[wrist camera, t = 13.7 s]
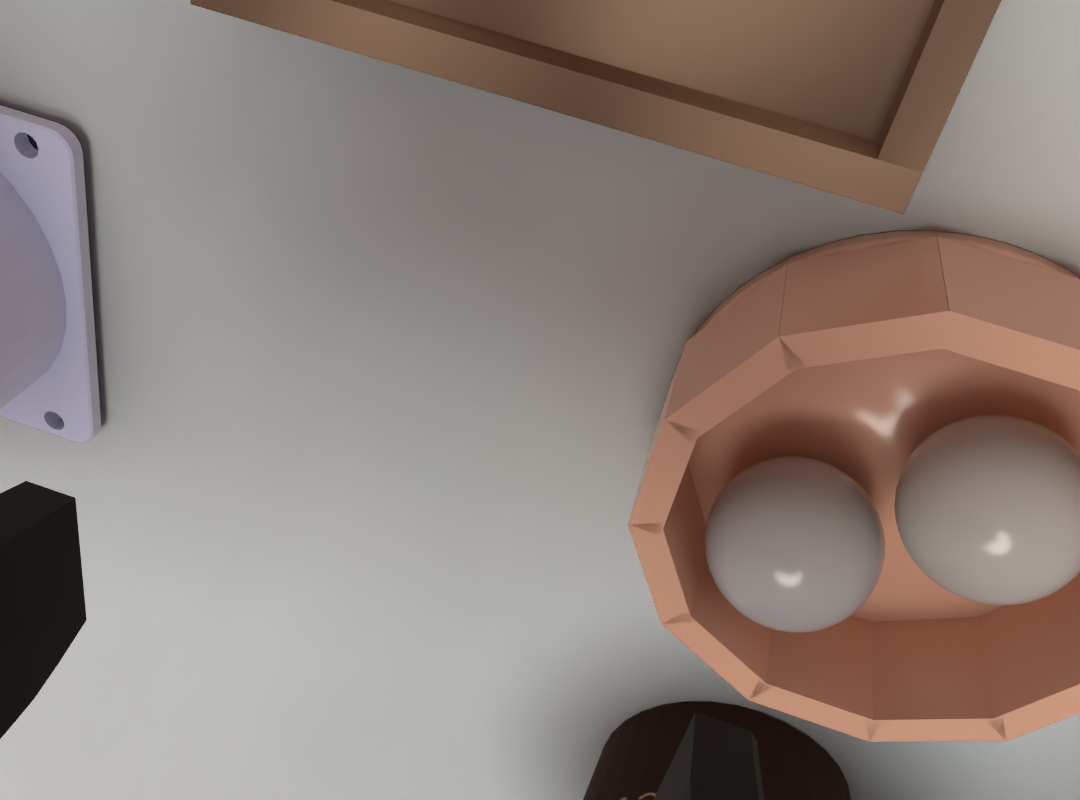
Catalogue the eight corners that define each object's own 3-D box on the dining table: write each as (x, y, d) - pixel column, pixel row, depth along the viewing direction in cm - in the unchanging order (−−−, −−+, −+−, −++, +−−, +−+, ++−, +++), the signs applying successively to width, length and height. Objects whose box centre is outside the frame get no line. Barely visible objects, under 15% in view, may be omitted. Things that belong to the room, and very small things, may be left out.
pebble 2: (856, 478, 19) (876, 621, 17) (929, 359, 17) (962, 507, 15) (1019, 509, 20) (1059, 657, 17) (1111, 395, 17) (1172, 548, 15)
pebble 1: (785, 454, 21) (667, 552, 20) (807, 396, 18) (670, 510, 18) (900, 572, 20) (779, 679, 19) (945, 531, 17) (804, 657, 16)
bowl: (616, 540, 23) (586, 644, 20) (744, 166, 17) (725, 243, 15) (1017, 673, 22) (1040, 800, 19) (1279, 323, 17) (1357, 434, 14)
